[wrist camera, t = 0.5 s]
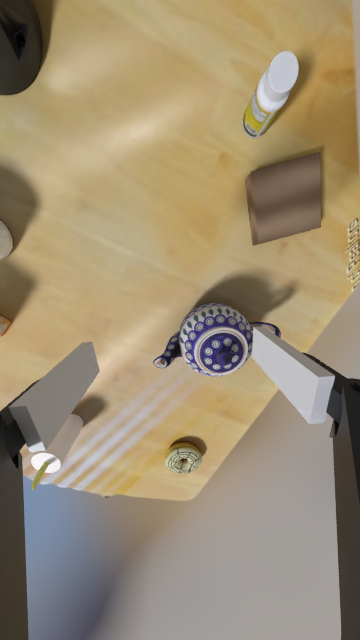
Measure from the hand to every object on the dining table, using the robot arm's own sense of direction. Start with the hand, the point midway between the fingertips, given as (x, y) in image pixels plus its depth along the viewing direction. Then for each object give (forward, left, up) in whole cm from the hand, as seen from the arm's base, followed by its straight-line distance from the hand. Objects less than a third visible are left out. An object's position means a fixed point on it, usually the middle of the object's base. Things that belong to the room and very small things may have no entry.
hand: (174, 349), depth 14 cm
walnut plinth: (-12, +25, -26) cm, 38 cm away
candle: (+27, -37, -27) cm, 53 cm away
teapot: (+10, +6, -27) cm, 29 cm away
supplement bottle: (-26, +22, -27) cm, 43 cm away
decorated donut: (+48, -10, -27) cm, 56 cm away
